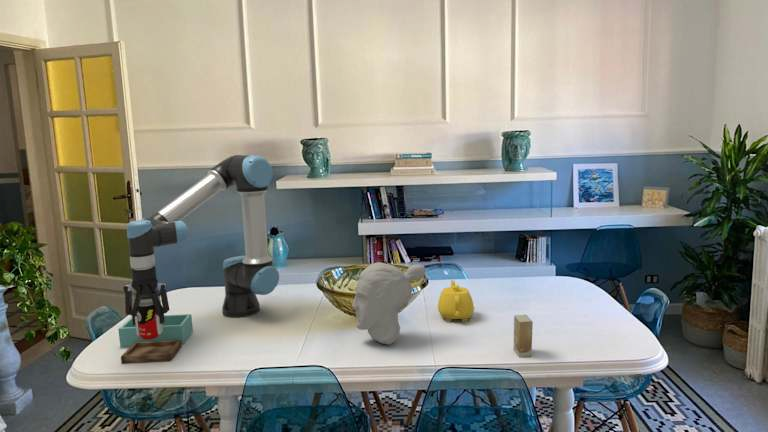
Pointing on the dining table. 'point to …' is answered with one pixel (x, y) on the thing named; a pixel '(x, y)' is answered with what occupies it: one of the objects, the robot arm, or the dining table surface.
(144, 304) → the beverage can
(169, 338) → the teal open box
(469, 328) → the dining table surface
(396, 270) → the bust
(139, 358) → the tray
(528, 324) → the skincare box
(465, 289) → the teapot
